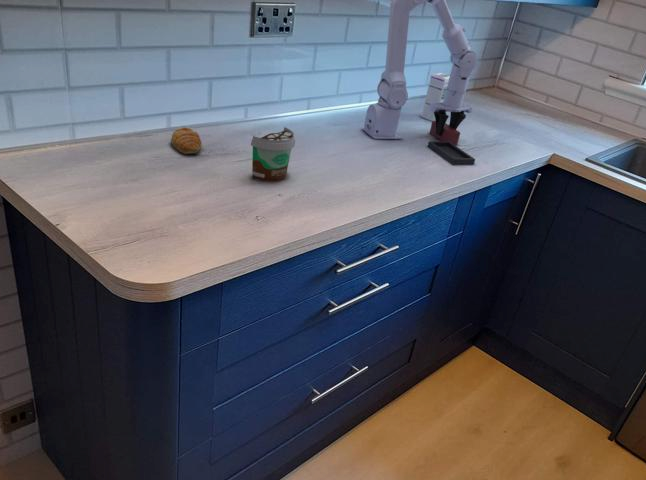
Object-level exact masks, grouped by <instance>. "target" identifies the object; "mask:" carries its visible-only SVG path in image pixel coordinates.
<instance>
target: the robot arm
mask: <svg viewBox="0 0 646 480" xmlns="http://www.w3.org/2000/svg"><path fill="white" fill-rule="evenodd" d="M423 3H427V4H428V5H430V7H431V9H432V10H433V12H434V14H435V16H436V18H437V19H438V21H439V23H440V25H441V27H442V29H443V31H442V35H441V37H442V39H443V41H444V43H445V45H446V47H447V49H448V52H449V54H450V62H451V63H452V66H451V70H450V74H449V76H450V77H449V81H448V85H447V89H446V93H445V97H444V100H443V102H441V103H431V104H430V108H429V110H431V111H432V112H434V115H435V121H436V134H437V135H439V136H441V134H442V131H443V128H444V125H445V123H446V124H447V120H449V124H448V125H450V126H451V127H453V128H454V129H456V130H457V129H458V127H459V126H460V125H461V123H462V122H463V121H464V120H465V119H466V117H467V114H472V111H473V108H474V107H473V106H471V105H469V104H463V102H464V98H465V95H466V91H467V88H468V85H469V81H470V78H471V75H472V73H473V71H474V70H475V69H476V68H477V66H478V63H479V61H478V56H477V53H476V52H475V51H473V50H472V43H471V42H469V41H468V39H467V36H466V31H467V30H466V29H465V27H464V26H462V25H461V24H459V23H455V21H454V18H453V15H452V13H451V10H450V8H449V5H448V2H447V0H391V1H390V5H389V6H390V7H389V19H388V33H387V43H386V45H387V46H386V57H385V68H384V70H383V72H381V74H380V80H379V82H378V84H377V88H376V91H377V95H378V100H377V102H376V103H373V104H369V106H368V107H367V109H366V114H365V120H364V124H363V127H362V128H361V129H362V130H363V131H364V132H365V133H366V134H368V135H369V136H370V137H371V138H373V139H374V140H378V139H379V140H401V139H402V137H401V136H400V135H399V134H397V131H398V126H399V122H400V117H401V112H402V109H403V107H404V106H405V104H406V103H407V101H408V97H409V93H408V90H407V80H406V76H405V64H406V54H407V42H408V34H409V33H408V32H409V22H410V13H411V11H413V10H414V9H415V8H416V7H418V6H419V5H421V4H423ZM447 113H450V114H447ZM465 113H467V114H465ZM449 115H450V116H449Z"/></svg>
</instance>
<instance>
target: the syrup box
mask: <svg viewBox="0 0 646 480" xmlns="http://www.w3.org/2000/svg"><path fill="white" fill-rule="evenodd" d="M449 77H450V74H448V73H447V74H446V73H444V72H437V73H431V74H430V77H429V81H428V86H427V90H426V95H425V99H424V104H423V108H422V113H421V118H422V119H425V120H428V121H429V122H432V121H435V115H434V112H432V111H431V110H429V108H430V104H431V103H441V102H443V100H444V97H445V93H446V89H447V85H448V81H449Z"/></svg>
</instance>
